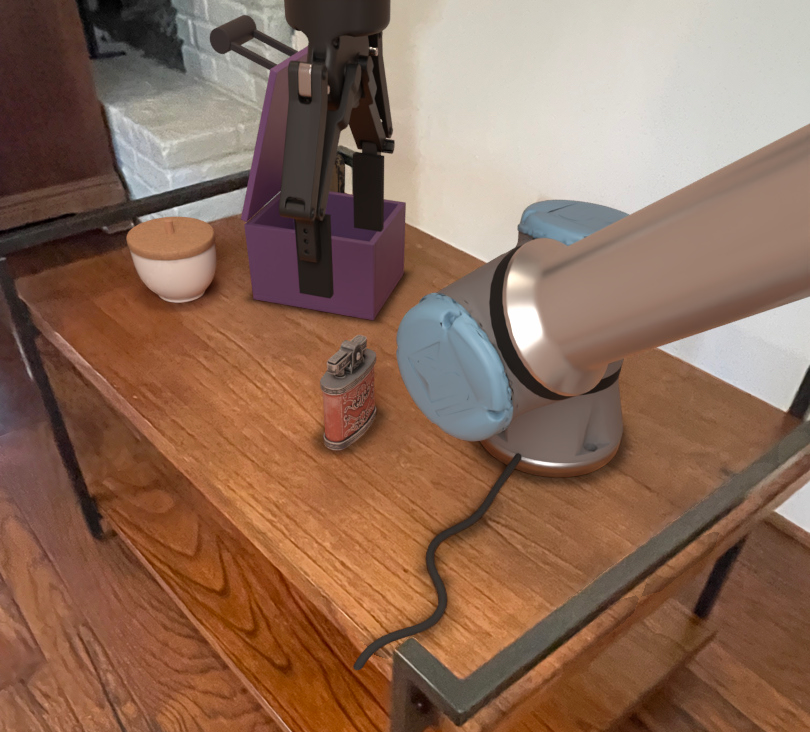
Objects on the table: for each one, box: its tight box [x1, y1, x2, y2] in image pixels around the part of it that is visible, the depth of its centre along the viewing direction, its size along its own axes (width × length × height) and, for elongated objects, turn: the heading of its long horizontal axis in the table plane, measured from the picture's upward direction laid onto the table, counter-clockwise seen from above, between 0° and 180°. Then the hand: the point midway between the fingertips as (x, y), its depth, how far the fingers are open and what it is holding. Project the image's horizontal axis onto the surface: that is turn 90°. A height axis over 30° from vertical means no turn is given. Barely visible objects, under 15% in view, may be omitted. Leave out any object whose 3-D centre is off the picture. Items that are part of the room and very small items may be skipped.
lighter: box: [319, 334, 377, 451], centre depth 76 cm, size 8×3×10 cm, turn 152°
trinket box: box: [126, 216, 218, 304], centre depth 96 cm, size 11×11×9 cm
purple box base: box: [243, 191, 407, 321], centre depth 98 cm, size 17×14×10 cm
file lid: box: [209, 14, 308, 223], centre depth 89 cm, size 17×14×9 cm
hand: (344, 259), depth 67 cm, fingers open, 13 cm apart
